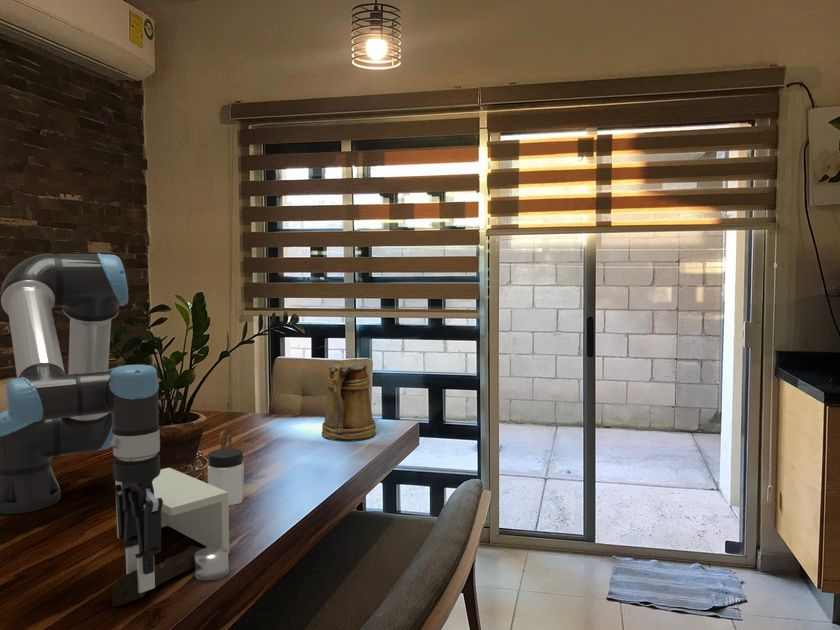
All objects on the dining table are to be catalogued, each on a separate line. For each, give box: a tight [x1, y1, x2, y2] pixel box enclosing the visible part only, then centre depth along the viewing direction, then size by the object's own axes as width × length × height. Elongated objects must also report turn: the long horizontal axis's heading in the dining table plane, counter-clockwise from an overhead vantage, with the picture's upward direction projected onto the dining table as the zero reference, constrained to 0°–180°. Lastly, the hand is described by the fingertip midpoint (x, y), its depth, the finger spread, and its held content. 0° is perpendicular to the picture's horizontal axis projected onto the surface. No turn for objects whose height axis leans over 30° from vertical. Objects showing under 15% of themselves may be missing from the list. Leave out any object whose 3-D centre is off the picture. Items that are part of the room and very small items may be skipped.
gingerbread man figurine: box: [216, 430, 233, 450], centre depth 188 cm, size 9×4×12 cm, turn 168°
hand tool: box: [111, 545, 202, 608], centre depth 124 cm, size 19×4×5 cm, turn 150°
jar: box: [207, 447, 245, 507], centre depth 167 cm, size 9×8×12 cm
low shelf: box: [114, 467, 230, 554], centre depth 141 cm, size 24×12×12 cm, turn 47°
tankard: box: [321, 358, 377, 442], centre depth 228 cm, size 18×24×25 cm
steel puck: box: [194, 546, 230, 582], centre depth 129 cm, size 6×6×4 cm
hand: (140, 585), depth 120 cm, fingers closed on hand tool, 4 cm apart
